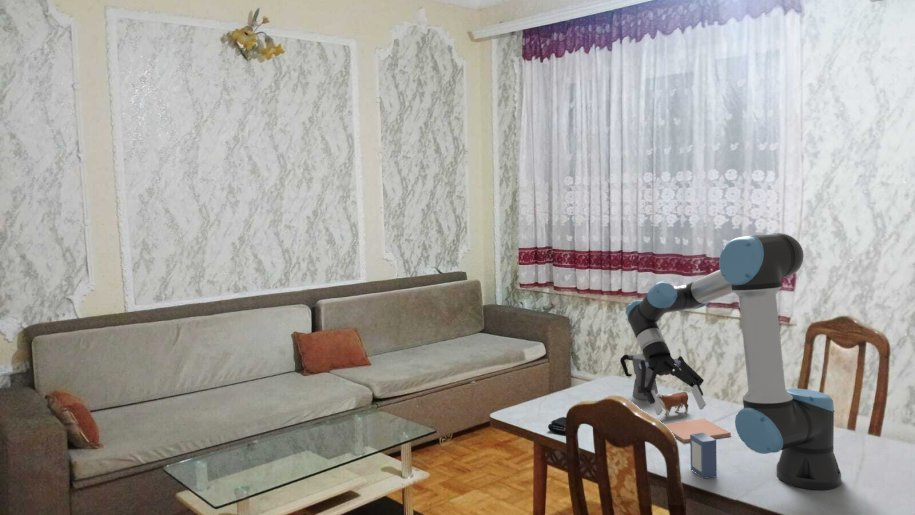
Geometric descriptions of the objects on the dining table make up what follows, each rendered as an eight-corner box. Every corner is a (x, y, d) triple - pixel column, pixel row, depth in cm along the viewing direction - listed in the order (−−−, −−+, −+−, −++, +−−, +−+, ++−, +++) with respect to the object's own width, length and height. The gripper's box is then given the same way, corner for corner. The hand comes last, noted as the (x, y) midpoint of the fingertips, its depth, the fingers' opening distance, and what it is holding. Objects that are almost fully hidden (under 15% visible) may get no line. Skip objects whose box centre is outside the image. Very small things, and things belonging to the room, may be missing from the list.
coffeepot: (663, 393, 260) (662, 345, 258) (664, 400, 251) (663, 351, 249) (621, 391, 264) (620, 345, 262) (620, 399, 255) (619, 351, 253)
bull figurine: (650, 415, 236) (650, 392, 235) (684, 410, 240) (684, 387, 239) (658, 419, 232) (657, 395, 231) (692, 413, 236) (692, 390, 235)
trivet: (730, 435, 214) (730, 432, 214) (684, 442, 210) (684, 439, 210) (704, 421, 228) (704, 418, 228) (660, 427, 224) (660, 424, 224)
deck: (716, 476, 186) (716, 439, 185) (703, 478, 185) (702, 442, 184) (703, 467, 192) (703, 432, 191) (690, 469, 191) (690, 434, 190)
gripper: (686, 349, 216) (715, 411, 203) (612, 357, 210) (637, 421, 197) (695, 336, 210) (726, 398, 197) (619, 344, 205) (646, 409, 191)
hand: (681, 410), depth 197 cm, fingers open, 13 cm apart
